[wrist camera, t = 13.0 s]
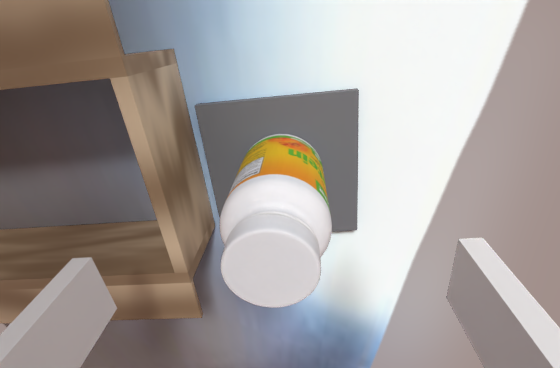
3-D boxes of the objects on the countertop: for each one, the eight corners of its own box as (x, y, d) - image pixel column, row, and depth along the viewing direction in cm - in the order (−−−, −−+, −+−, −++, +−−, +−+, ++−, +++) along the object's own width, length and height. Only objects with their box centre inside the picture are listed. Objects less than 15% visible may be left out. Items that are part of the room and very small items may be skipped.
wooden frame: (-149, 30, 19) (-330, 30, 13) (159, -11, 17) (94, -30, 11) (4, 266, 27) (-70, 325, 21) (222, 256, 25) (201, 317, 20)
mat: (197, 103, 20) (194, 105, 19) (356, 88, 19) (358, 90, 18) (225, 232, 24) (224, 237, 23) (355, 225, 23) (357, 230, 22)
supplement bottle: (339, 173, 20) (368, 278, 12) (280, 218, 22) (269, 337, 14) (284, 114, 19) (272, 185, 10) (226, 167, 21) (174, 267, 12)
